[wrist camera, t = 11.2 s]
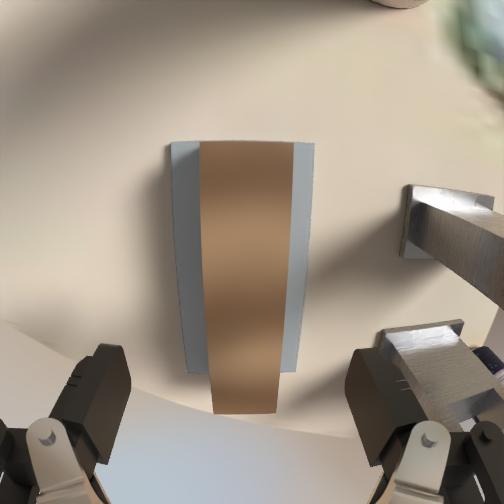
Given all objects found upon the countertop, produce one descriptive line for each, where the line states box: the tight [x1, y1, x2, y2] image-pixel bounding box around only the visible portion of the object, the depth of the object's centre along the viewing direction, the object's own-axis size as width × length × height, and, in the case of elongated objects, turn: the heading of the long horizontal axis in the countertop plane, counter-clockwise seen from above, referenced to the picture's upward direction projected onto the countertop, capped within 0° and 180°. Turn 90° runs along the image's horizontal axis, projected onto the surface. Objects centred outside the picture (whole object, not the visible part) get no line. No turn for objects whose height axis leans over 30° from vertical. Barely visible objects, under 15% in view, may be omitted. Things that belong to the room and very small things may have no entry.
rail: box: [200, 141, 294, 414], centre depth 17 cm, size 16×4×4 cm, turn 179°
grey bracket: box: [378, 319, 504, 434], centre depth 18 cm, size 5×8×11 cm, turn 89°
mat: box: [171, 140, 315, 374], centre depth 19 cm, size 16×8×1 cm, turn 179°
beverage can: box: [470, 346, 504, 423], centre depth 19 cm, size 6×6×12 cm
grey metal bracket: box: [399, 184, 504, 310], centre depth 14 cm, size 5×8×11 cm, turn 89°
